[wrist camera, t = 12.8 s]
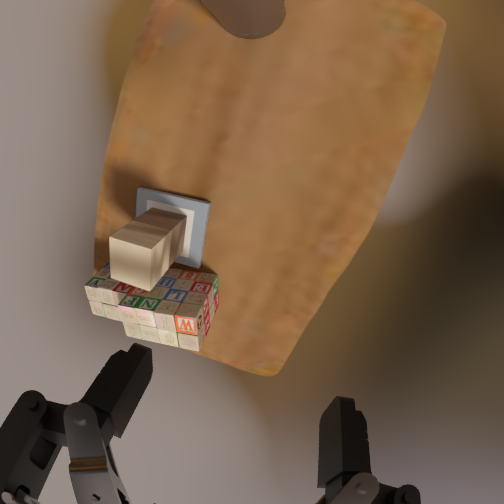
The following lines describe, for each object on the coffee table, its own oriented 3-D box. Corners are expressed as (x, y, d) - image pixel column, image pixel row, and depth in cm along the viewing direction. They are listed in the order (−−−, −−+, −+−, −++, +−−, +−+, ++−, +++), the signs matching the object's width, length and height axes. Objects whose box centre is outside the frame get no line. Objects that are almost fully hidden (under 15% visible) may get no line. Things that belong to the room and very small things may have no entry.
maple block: (133, 220, 37) (109, 236, 31) (171, 230, 37) (151, 249, 31) (132, 257, 39) (110, 277, 34) (168, 268, 39) (150, 291, 34)
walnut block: (152, 207, 42) (132, 219, 37) (187, 215, 42) (171, 229, 36) (149, 241, 45) (132, 257, 39) (182, 250, 45) (168, 268, 39)
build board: (140, 186, 42) (137, 188, 41) (210, 202, 42) (208, 204, 41) (137, 247, 47) (134, 250, 46) (200, 266, 46) (198, 269, 46)
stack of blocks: (117, 287, 52) (83, 324, 41) (111, 259, 49) (72, 293, 38) (219, 304, 49) (199, 353, 38) (219, 273, 47) (195, 319, 36)
